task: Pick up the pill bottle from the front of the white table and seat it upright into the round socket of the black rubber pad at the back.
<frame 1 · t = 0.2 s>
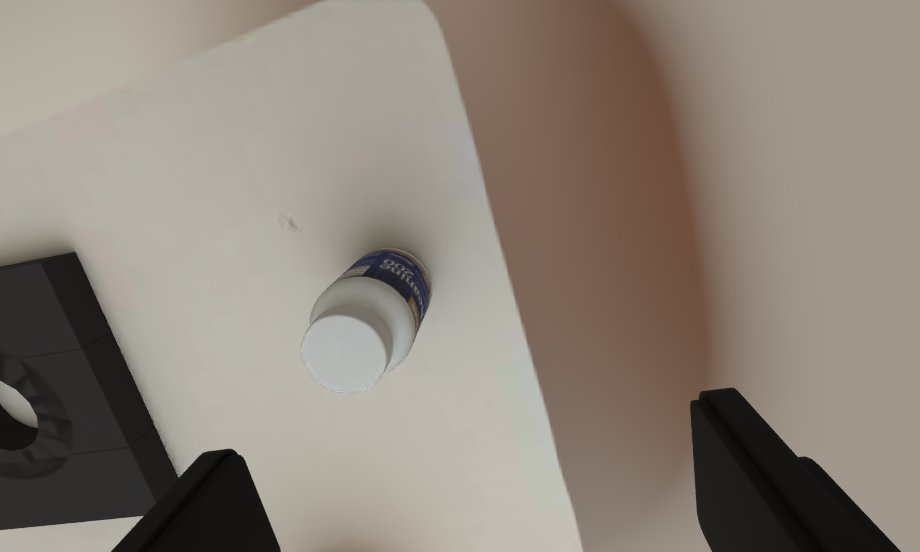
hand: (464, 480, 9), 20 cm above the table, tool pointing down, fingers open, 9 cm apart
socket pad: (42, 394, 35), on the table
pill bottle: (393, 284, 30), on the table
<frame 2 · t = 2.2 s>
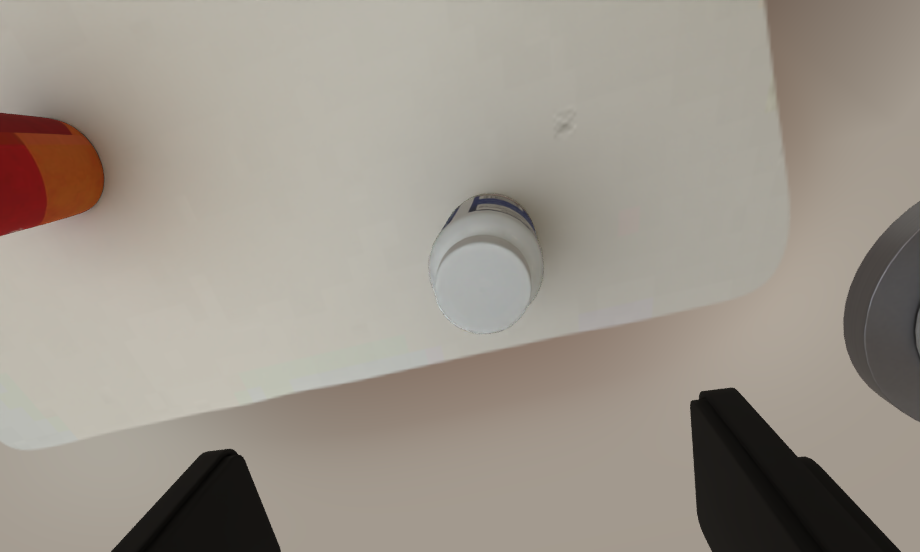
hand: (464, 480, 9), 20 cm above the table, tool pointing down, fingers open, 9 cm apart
pill bottle: (490, 236, 28), on the table
coffee cup: (63, 168, 29), on the table
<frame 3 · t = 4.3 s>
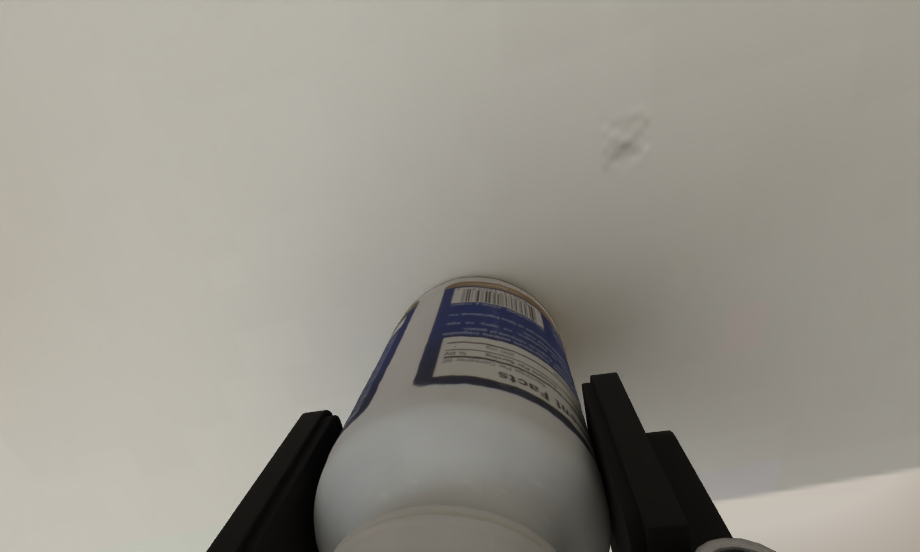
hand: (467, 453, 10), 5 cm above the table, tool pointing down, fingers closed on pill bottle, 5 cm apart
pill bottle: (478, 349, 15), on the table, touching gripper
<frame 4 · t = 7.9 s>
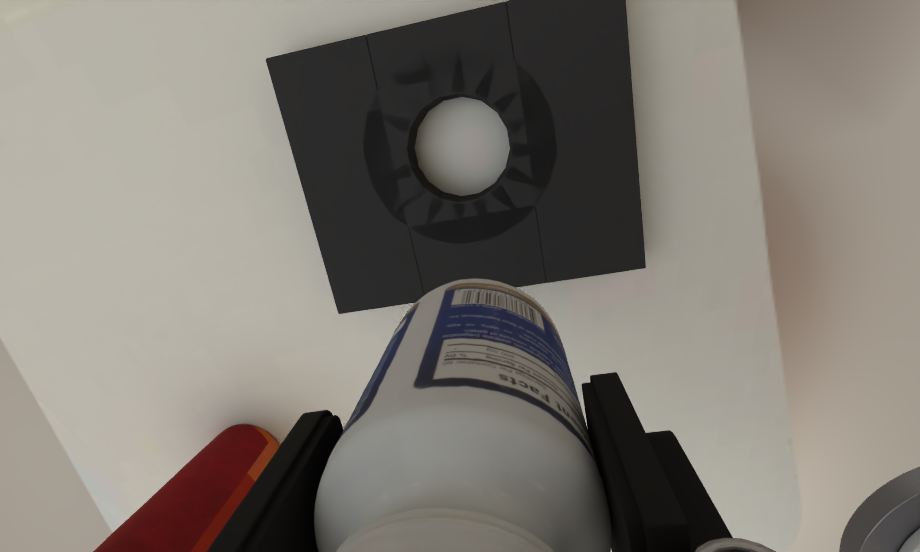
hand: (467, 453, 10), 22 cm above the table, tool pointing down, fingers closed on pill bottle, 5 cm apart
socket pad: (464, 163, 29), on the table
pill bottle: (478, 350, 15), point 17 cm above the table, touching gripper
coffee cup: (251, 453, 38), on the table
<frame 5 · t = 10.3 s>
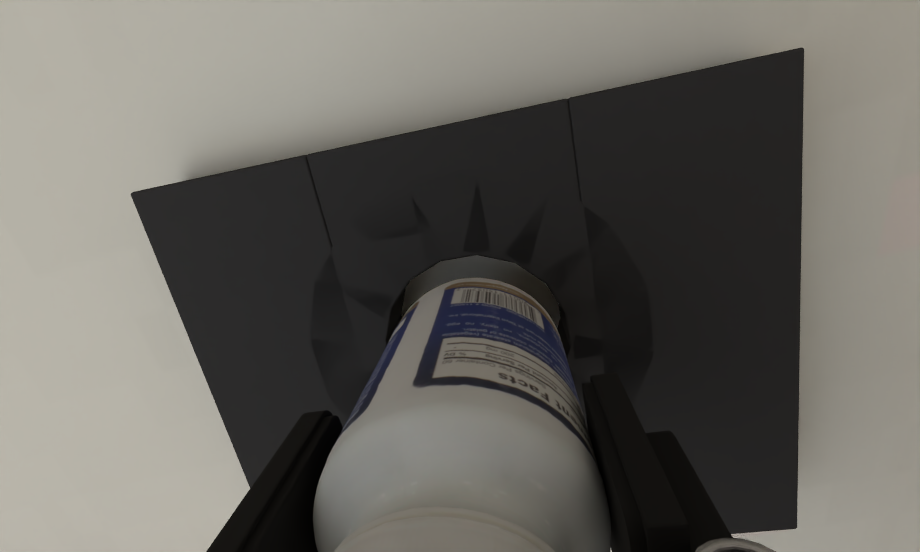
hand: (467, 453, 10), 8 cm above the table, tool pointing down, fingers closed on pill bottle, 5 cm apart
socket pad: (484, 338, 18), on the table
pill bottle: (478, 349, 15), point 3 cm above the table, touching gripper
when the fingers open (5 cm above the table, at t = 11.7 s): pill bottle stays where it is, resting in socket pad.
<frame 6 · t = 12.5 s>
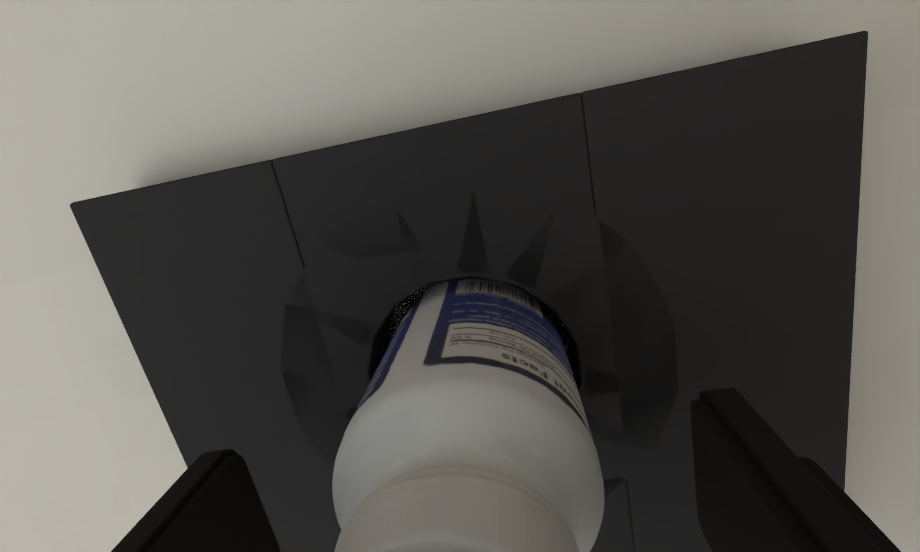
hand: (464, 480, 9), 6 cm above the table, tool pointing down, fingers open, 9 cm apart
socket pad: (482, 366, 16), on the table
pill bottle: (480, 339, 16), resting in socket pad
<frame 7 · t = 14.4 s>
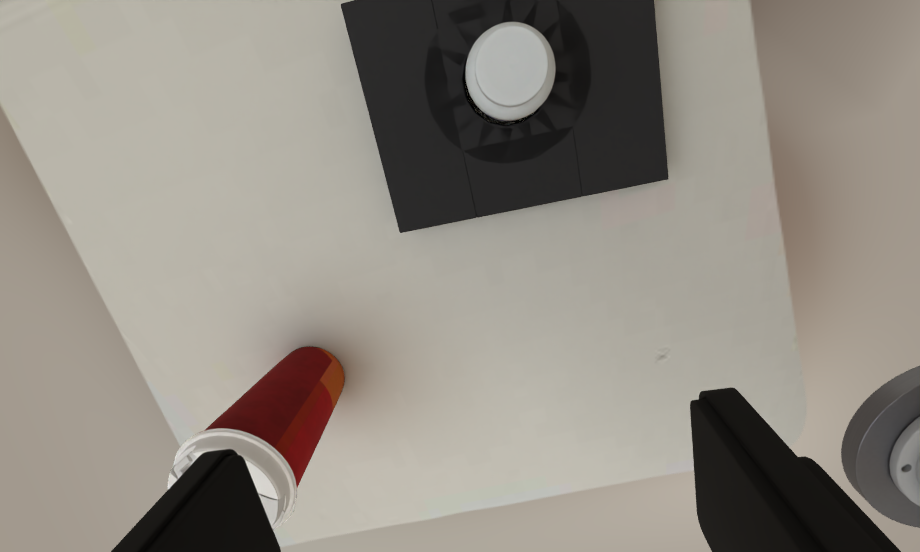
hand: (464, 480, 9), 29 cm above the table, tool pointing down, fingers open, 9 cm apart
socket pad: (508, 96, 34), on the table
pill bottle: (507, 83, 34), resting in socket pad
coffee cup: (315, 374, 43), on the table
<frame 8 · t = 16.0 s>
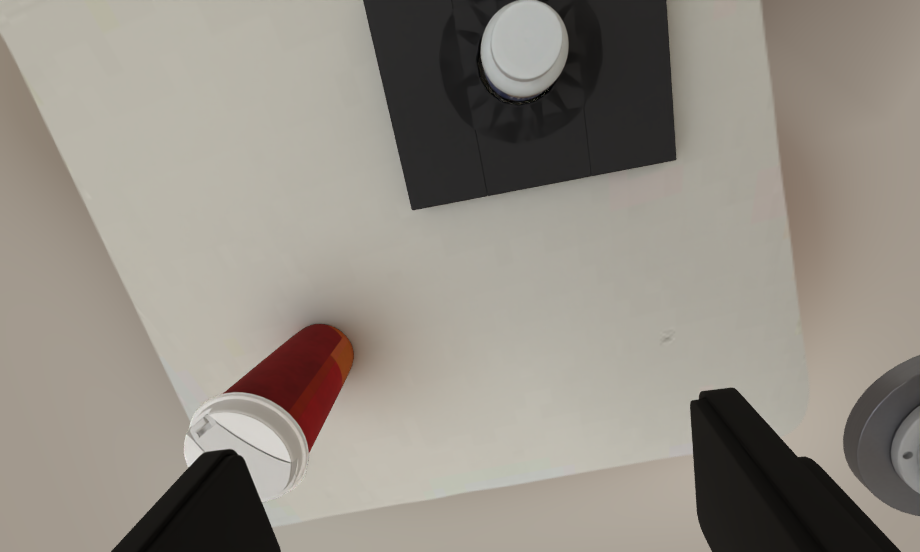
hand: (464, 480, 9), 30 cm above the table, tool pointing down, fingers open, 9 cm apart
socket pad: (520, 77, 35), on the table
pill bottle: (519, 64, 35), resting in socket pad
coffee cup: (324, 351, 44), on the table
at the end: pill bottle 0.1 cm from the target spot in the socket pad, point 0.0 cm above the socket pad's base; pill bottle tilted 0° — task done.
